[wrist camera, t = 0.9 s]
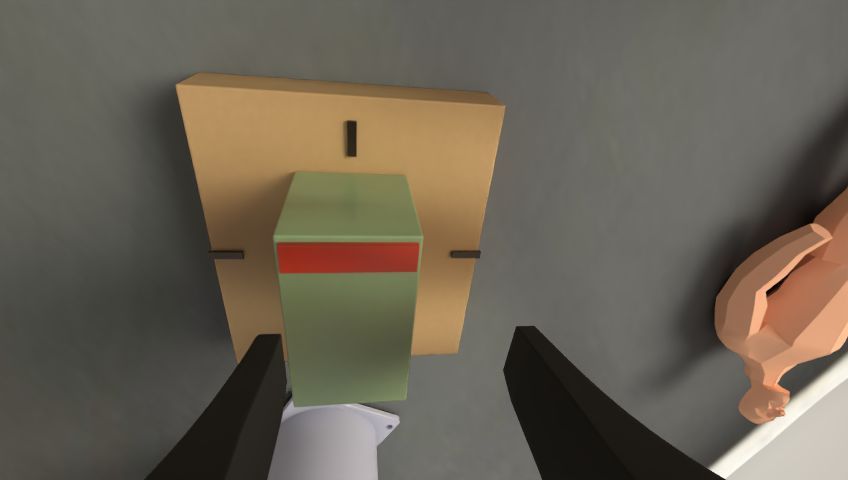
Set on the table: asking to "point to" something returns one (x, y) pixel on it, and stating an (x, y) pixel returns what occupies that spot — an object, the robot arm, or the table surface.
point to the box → (348, 286)
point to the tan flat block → (338, 153)
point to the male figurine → (787, 307)
